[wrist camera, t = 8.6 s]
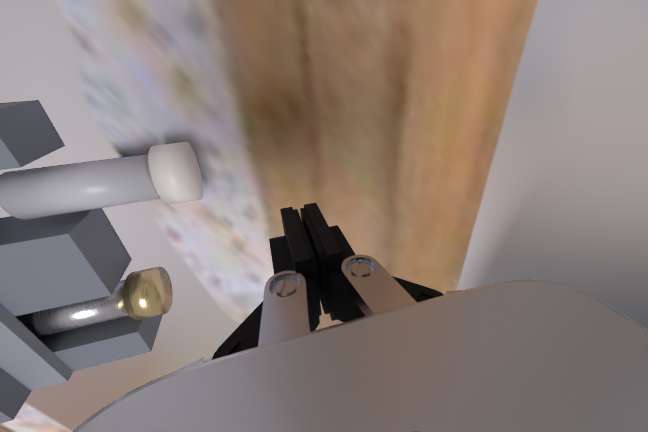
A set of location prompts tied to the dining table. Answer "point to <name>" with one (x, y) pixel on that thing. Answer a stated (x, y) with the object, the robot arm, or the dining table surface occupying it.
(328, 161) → the dining table surface
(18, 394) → the mount
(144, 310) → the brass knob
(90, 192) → the light grey capped cylinder
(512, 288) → the robot arm
